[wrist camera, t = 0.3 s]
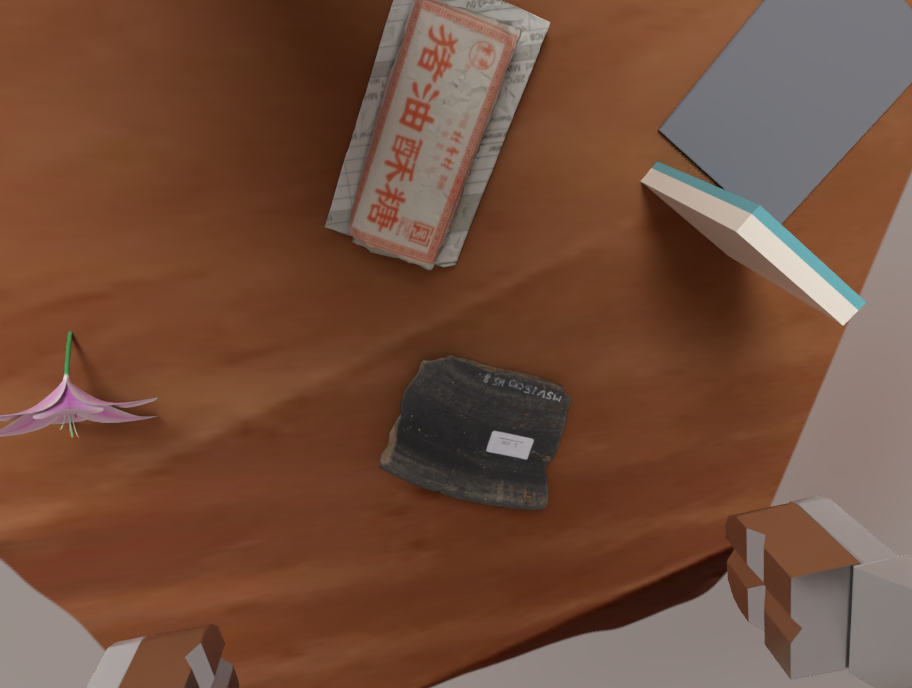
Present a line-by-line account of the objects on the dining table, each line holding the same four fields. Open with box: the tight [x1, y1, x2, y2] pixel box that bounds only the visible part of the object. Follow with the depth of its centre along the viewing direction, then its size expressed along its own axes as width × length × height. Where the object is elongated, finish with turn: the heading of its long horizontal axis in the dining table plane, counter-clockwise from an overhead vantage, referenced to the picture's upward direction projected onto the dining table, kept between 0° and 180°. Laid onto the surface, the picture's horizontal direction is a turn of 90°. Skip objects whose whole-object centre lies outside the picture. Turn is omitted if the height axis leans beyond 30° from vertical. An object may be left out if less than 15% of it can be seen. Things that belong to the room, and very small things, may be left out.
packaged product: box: [324, 0, 550, 270], centre depth 43 cm, size 18×5×10 cm
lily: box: [0, 332, 158, 439], centre depth 46 cm, size 12×12×10 cm
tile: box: [641, 161, 866, 325], centre depth 43 cm, size 2×10×14 cm, turn 53°
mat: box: [659, 0, 912, 224], centre depth 46 cm, size 16×13×1 cm
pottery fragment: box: [379, 354, 572, 511], centre depth 54 cm, size 15×12×4 cm
